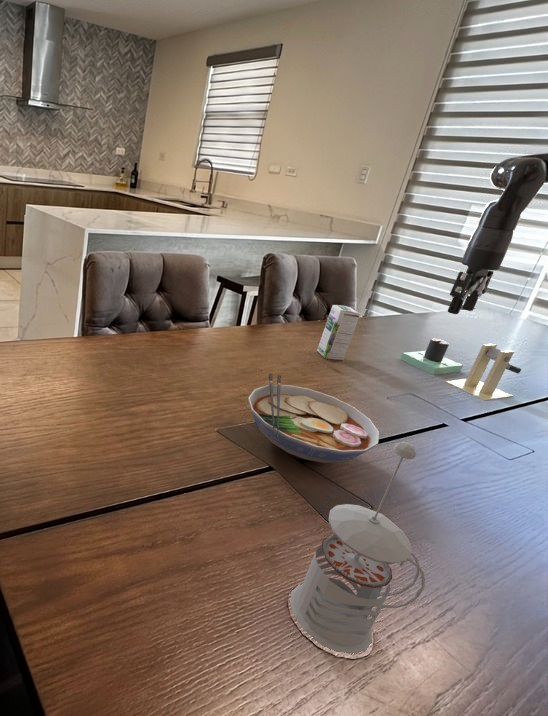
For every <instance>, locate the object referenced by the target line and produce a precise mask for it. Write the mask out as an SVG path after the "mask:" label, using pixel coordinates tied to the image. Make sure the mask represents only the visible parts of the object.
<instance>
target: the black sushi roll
mask: <svg viewBox="0 0 548 716" xmlns="http://www.w3.org/2000/svg"><path fill="white" fill-rule="evenodd" d="M449 346H450V343H449V342H448V341H447V340H444V339H441V338H436V337H433V338H432V337H431V338H430V340H429V343H428V345H427V347H426V350H425V351H426V352H425V354H424V357H425V358H426V359H428V360H431V361H435V362H441V361H442V359H443V357H445V354H446V352H447V350H448V348H449Z"/></svg>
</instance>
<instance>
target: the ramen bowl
mask: <svg viewBox="0 0 548 716" xmlns="http://www.w3.org/2000/svg"><path fill="white" fill-rule="evenodd" d="M273 375H274V374H273V373H271V372H269V374H268V383H269V384H267V385H263V386H261V387H257V388H255V389H253V391H252V392H251V393H250V395H249V396H248V403H249V406H250V410H251V414H252V417H253V419H254V422H255V424H256V426H257V427H258V429H259V431H260V432H261V433H262V434H263V435H264V436H265V438H266V439H268V441H269V442H271V443H272V444H273V445H274V446H276V447H278V448H279V449H281V450H283V451H284V452H286V453H287V454H290V455H292V456H295V457H298V458H300V459H303V460H305V461H312V462H316V463H323V464H331V463H345V462H347V461H351V460H353V459H355V458H357V457H359V456H362V455H363V454H365V453H366V452H368V451H369V450H371V449H372V448H374V447H375V446H377V445H378V444H379V440H380V431H379V430H378V427H377V426H375V424H374V423H373V421H372V420H371V418H369V417H368V416H367V415H365V413H363V412H361V411H360V410H359V409H357V408H356V407H354V405H352V404H349V403H347V402H345V401H342V400H340V399H339V398H336V397H334V396H332V395H329V394H326V393H323V392H321V391H317V390H314V389H311V388H307V387H301V386H297V385H295V386H294V385H289V384H282V375H280V374H278V375H277V378H276V379H277V380H276V381H277V384H274V380H273V379H274V377H273Z"/></svg>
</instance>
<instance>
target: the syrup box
mask: <svg viewBox="0 0 548 716" xmlns="http://www.w3.org/2000/svg"><path fill="white" fill-rule="evenodd" d="M360 316H361V313H360V312H358V311H356V309H354V308H353V307H350V306H347V305H341V304H332V306H331V309H330V312H329V314H328V317H327V319H326V323H325V326H324V329H323V331H322V336H321V338H320V340H319V344H318V347H317V350H316V351H317V353H319V354H320V355H321V356H322V357H323V358H324V359H328V360H337V361H344V359H345V358H346V354H347V352H348V349H349V346H350V344H351V341H352V338H353V335H354V332H355V330H356V327H357V325H358V322H359V319H360Z"/></svg>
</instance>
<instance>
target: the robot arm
mask: <svg viewBox="0 0 548 716" xmlns="http://www.w3.org/2000/svg"><path fill="white" fill-rule="evenodd" d="M490 182H491V184H492V185H493V186H494V187H495V188H497V189H499V190H503V192H502V193H501V194H500V196H499V198H498V199H496V200H493V201H490V202H488V203H487V204H486V205H485V207H484V209H483V210H482V214H481V216H480V218H479V221H478V223H477V225H476V227H475V229H474V231H473V233H472V234H471V236H470V239H469V241H468V243H467V247H466V249H465V251H464V254H463V256H462V259H461V261H460V262H461V264H462V265H464V266H466V267H467V268H466V270H465V271H459V272H458V274H457V277H456V279H455V281H454V283H453V286H452V288H451V290H450V292H449V296H451V298H452V299H451V302H450V304H449V307H448V308H447V313H449V314H452V315H458V314H460V312H461V309H462V310H465V311H468V312H473V311H474V310H475V307H476V305H477V302H478V300H479V298H481V296H482V295H485V294H486V292H487V289H488V286H489V284H490V282H491V280H492V277H493V275H494V271H498V270H500V268H501V265H502V264H503V262H504V258H505V256H506V254H507V252H508V250H509V248H510V245H511V243H512V240H513V237H514V233H515V230H516V228H517V226H518V224H519V222H520V219H521V217H522V214H523V213H524V211H525V210H526V209H527V208H528V207H529V205H530V204H531V203H532V201H533V200H534V199H535V197H536V196H537V195H538V194H539V192H540V191H541V190H542V188H543V186H544V184H548V152H544V153H536V154H527V155H519V156H512V157H509V158H505V159H504V160H502V161H500V162H498V164H496V165H495V166H494V168H493V169H492V171H491V173H490Z"/></svg>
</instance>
